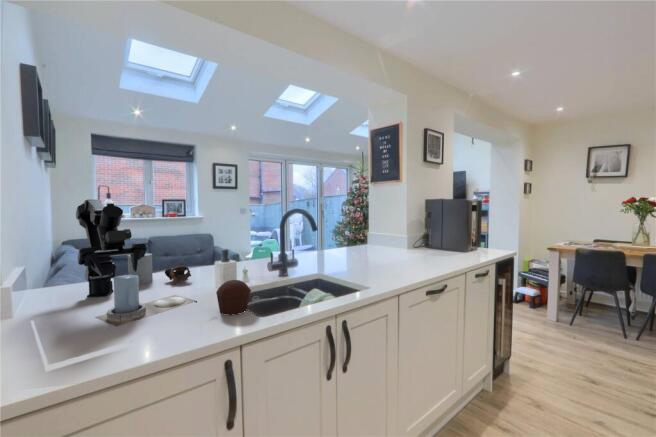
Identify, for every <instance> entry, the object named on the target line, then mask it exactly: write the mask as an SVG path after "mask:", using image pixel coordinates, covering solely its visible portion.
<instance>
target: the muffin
mask: <svg viewBox="0 0 656 437" xmlns="http://www.w3.org/2000/svg"><path fill="white" fill-rule="evenodd" d="M251 292H252V290H251V289H250V287H249V286H248V285H247V283H245V281H243V280H238V279H231V280H226V281H225V282H224V283H222V284H221V285H220V286H219V287H218V288H217V290H216V292H215V294H216V298H217V303H218V304H217V305H218V309H219V312H220V313H221V314H222V313H223V314H229V315H228V316H233V315H232V314H235V315H239V314H238V313H241V314H243V313H245V312H244V311H246V312H247V310H248V305H249V301H250V300H249V299H250V293H251ZM242 312H243V313H242ZM223 314H222V315H223Z"/></svg>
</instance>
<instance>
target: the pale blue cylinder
mask: <svg viewBox="0 0 656 437" xmlns="http://www.w3.org/2000/svg"><path fill="white" fill-rule="evenodd" d="M139 285H140V284H139V281H138V275H128V274H124V275H119V276H115V277H114V278H113V297H114V298H113V299H114V301H113V302H114V309H115V314H123V313H129V312H133V311H137V310H139V303H140V290H139Z"/></svg>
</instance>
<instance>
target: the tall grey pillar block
mask: <svg viewBox="0 0 656 437" xmlns="http://www.w3.org/2000/svg"><path fill="white" fill-rule="evenodd" d="M131 258H132V257H131V255H130V254H128V255H127V273H128V274H127V275H138V281H139V285H143V284H147V283H151V282H153V281H154V279H153V253H151V252H146V253H145V256H144V257H143V258H141V259H140V260H138V264H137V270H136V272H135V271H134V270H133V266H132V262H131Z"/></svg>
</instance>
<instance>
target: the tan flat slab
mask: <svg viewBox="0 0 656 437" xmlns="http://www.w3.org/2000/svg"><path fill="white" fill-rule="evenodd" d="M192 303H196V304H197V303H198V301H197V300H196V299H195V300H194V299H191V298H187V297H183V296H180V295H177V294H174V295H170V296H166V297H162V298H159V299H156V300H152V301H148V302H144V303H140V302H139V310H137V311H133V312H129V313H123V314H115V309H114V307H111V308H110V309H108V310H107V311H106V313H104V314H102V315H99V316H95V317H94V318H96V319H98V320H101V321H103V322H105V323H107V324H110V325H112V326H114V327H120V326H123V325H125V324H128V323H131V322H135V321H138V320H142V319H144V318H147V317H151V316H155V315H158V314H160V313H164V312H167V311H170V310H172V309H173V310H174V309H176V308H179V307H184V306H186V305H189V304H192Z"/></svg>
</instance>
